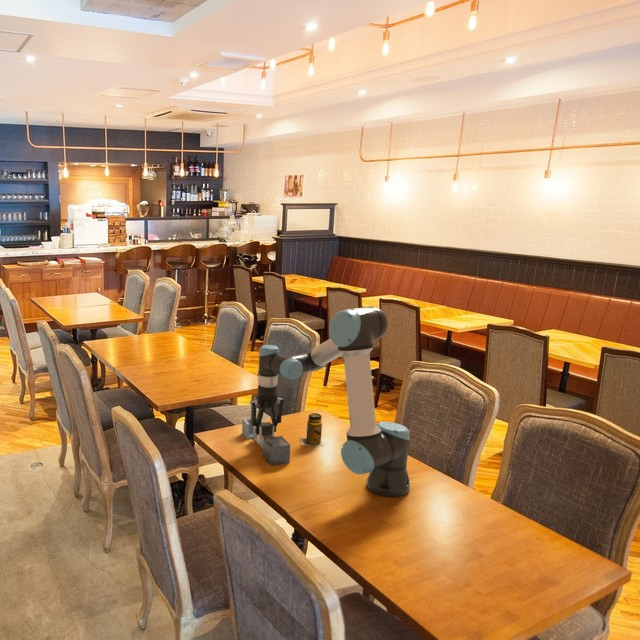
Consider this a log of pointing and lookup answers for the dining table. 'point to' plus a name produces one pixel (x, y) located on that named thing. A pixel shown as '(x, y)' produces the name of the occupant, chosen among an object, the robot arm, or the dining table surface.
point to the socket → (248, 428)
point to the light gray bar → (264, 432)
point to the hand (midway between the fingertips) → (265, 440)
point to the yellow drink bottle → (313, 431)
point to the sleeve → (276, 450)
